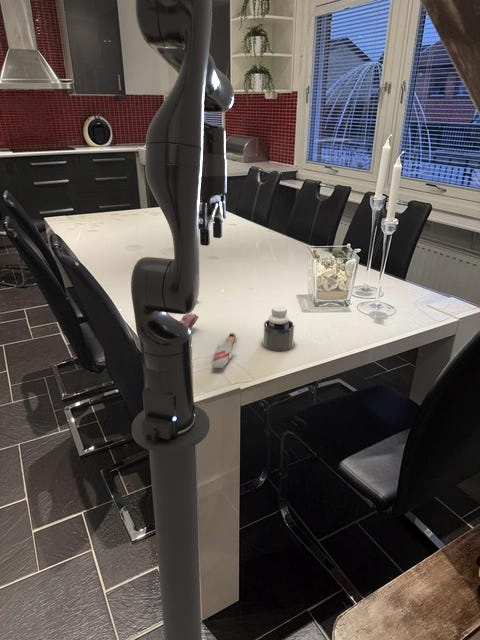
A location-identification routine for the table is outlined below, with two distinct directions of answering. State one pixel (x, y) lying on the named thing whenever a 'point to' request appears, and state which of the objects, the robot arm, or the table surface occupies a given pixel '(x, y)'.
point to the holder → (278, 337)
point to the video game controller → (189, 320)
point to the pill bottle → (279, 318)
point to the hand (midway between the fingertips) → (211, 241)
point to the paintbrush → (223, 352)
